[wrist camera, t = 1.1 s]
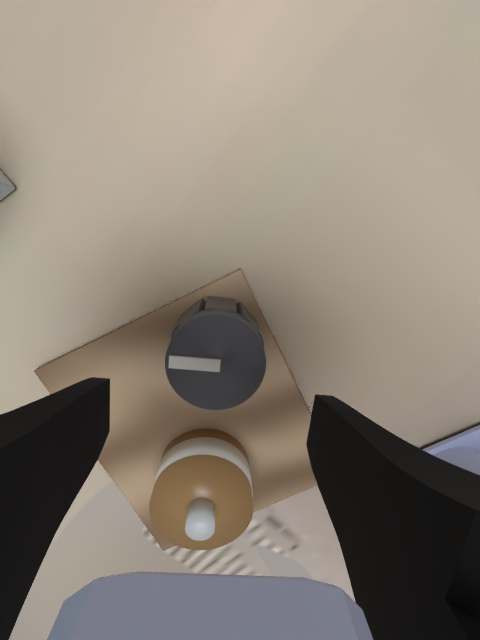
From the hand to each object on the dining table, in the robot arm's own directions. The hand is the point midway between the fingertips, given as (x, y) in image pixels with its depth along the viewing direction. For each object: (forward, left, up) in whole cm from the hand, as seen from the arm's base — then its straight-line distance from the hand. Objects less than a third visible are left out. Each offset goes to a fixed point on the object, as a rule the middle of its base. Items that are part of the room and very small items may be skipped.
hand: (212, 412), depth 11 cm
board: (-5, +4, -9) cm, 11 cm away
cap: (0, 0, -9) cm, 9 cm away
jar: (-8, +5, -9) cm, 13 cm away
